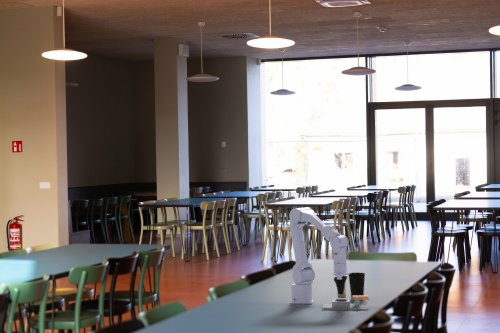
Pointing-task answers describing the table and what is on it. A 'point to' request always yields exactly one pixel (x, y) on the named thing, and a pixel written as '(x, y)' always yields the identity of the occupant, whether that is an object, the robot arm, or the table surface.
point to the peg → (343, 293)
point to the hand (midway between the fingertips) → (341, 293)
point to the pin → (360, 297)
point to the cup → (357, 284)
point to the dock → (342, 304)
